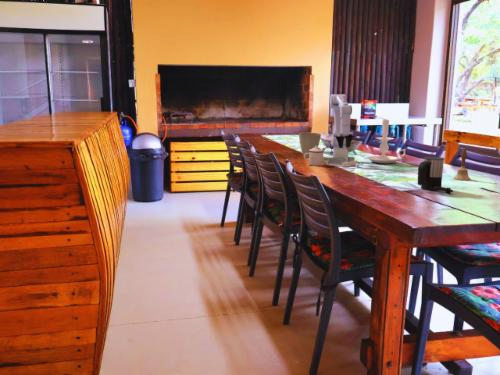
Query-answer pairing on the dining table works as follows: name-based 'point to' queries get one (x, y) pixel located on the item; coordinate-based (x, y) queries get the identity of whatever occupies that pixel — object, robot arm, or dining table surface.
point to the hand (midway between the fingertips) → (344, 147)
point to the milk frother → (431, 174)
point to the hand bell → (462, 169)
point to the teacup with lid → (315, 156)
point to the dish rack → (341, 161)
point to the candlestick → (385, 147)
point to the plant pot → (308, 142)
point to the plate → (342, 154)
